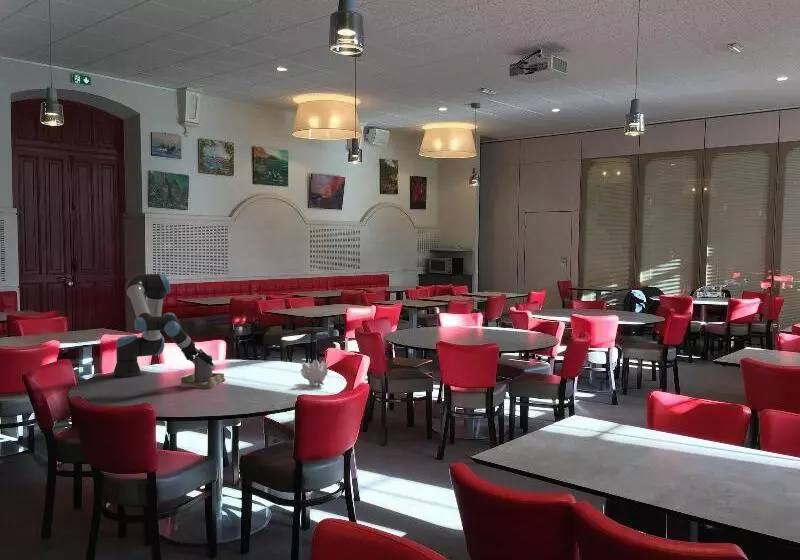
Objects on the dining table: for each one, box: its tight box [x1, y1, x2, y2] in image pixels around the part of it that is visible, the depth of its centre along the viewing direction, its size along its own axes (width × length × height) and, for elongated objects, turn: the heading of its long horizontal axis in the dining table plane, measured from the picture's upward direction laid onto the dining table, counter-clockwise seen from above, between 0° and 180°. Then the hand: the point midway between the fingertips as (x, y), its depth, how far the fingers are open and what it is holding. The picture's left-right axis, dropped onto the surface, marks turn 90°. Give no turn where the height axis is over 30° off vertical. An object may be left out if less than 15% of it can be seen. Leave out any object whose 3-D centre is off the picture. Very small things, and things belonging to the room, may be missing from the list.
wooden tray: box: [179, 372, 226, 389], centre depth 373 cm, size 18×18×5 cm
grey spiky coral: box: [300, 358, 329, 387], centre depth 373 cm, size 20×17×15 cm
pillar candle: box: [194, 354, 213, 382], centre depth 372 cm, size 10×10×15 cm
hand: (207, 367), depth 375 cm, fingers open, 11 cm apart
